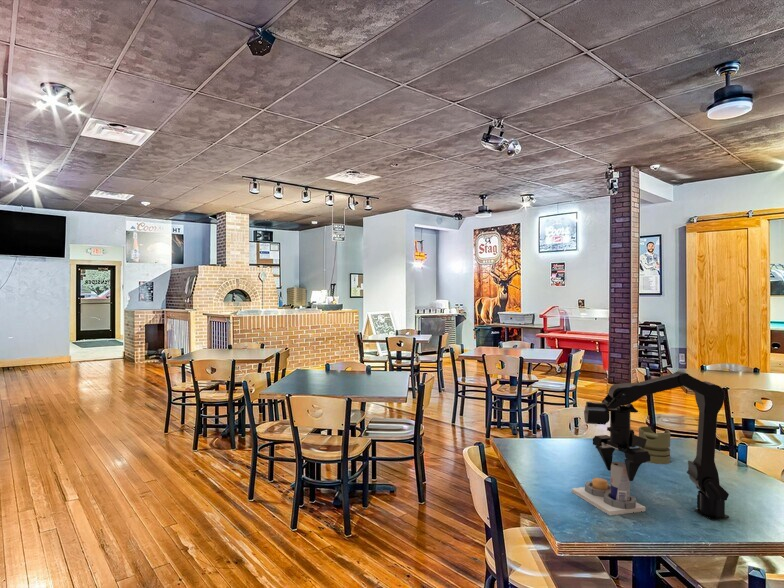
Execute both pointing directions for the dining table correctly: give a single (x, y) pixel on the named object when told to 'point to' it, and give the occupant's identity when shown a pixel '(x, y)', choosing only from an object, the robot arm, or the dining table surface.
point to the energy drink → (619, 482)
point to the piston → (656, 445)
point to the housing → (606, 498)
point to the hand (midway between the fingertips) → (619, 475)
